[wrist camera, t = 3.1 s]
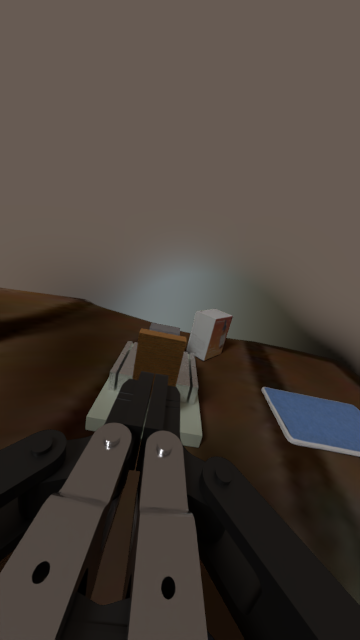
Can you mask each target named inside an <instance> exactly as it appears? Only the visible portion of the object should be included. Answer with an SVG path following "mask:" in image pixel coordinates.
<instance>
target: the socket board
mask: <svg viewBox="0 0 360 640" xmlns="http://www.w3.org/2000/svg"><path fill="white" fill-rule="evenodd" d="M150 330H152V331H157V332H163V333H168V334H173V335H178V336H179V335H180V328H177V327H172V326H167V325H161V324H157V323H152V324H151V326H150ZM133 345H134V344H133V343H132V347H133ZM188 358H189V354H188ZM108 385H109V378H108V380H107V382H106V383H105V385H104V387H103V389H102V390H101V392H100V394H99V396H98V397H97V399H96V401H95V403H94V404H93V406H92V408H91V409H90V411H89V413H88V415H87V416H86V429H85V430H91V431H96V430H97V429H98V428H100V427H101V426H103V425H104V424H105V422H106V419H107V417H108V415H109V413H110V411H111V408H112V406H113V404H114V402H115V400H116V398H117V395H118V393H119V392H117V385H116V387H115V389H114V391H111V390H108ZM149 402H150V400H149ZM148 406H149V405H148ZM147 411H148V410H147ZM146 415H147V414H146ZM145 420H146V419H145ZM144 425H145V423H144ZM143 429H144V428H143ZM142 435H143V432H142ZM141 439H142V437H141ZM180 439H181V442H182V444H183V445H185V446H191V447H198V448H199V445H200V442H201V439H202V427H201V419H200V410H199V401H198V392H197V395H196V398H195V402H194V405H192V404H188V396H187V400H186V403H181V402H180Z"/></svg>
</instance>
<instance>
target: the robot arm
mask: <svg viewBox="0 0 360 640" xmlns="http://www.w3.org/2000/svg"><path fill="white" fill-rule="evenodd" d="M168 378H169V376H168V375H162V374H157V373H156V374H155V379H154V373H151V372H145V371H141V373H140V376H139V379H138V380H135V379H128V380H127V381H126V382H125V383H123V384H122V387H121V389H120V391H119V393H118V395H117V398H116V400H115V402H114V404H113V406H112V408H111V411H110V413H109V415H108V417H107V419H106V422H105V424H104V425H103V426H101V427H100V428H98V429H97V430H96V431H95V433H94V434H93V435H91V436H89V437H86V438H81V439H74V440H66V437H65V435H64V434H63V433H61V432H60V431H57V430H43V431H40V432H37V433H35V434H33V435H30V436H28V437H26V438H24V439H22V440H20V441H18V442H16V443H14V444H12V445H10V446H8V447H6V448H4V449H2V450H0V561H1V560H2V559H3V558H5V557H6V556H7V555H8V554H9V553H11V552H12V551H13V550H14V549H15V550H14V552H13V554H12V555H11V557H10V558H9V560H8V562H7V563H6V565H5V566H4V568H3V570H2V571H1V573H0V640H214V638H213V637H212V636H211V635H210V633H209V632H208V631H207V627H206V618H205V609H204V599H203V590H202V581H201V571H200V562H199V557H200V559H201V561H202V562H203V564H204V566H205V568H206V570H207V572H208V573H209V575H210V577H211V579H212V581H213V582H214V584H215V586H216V588H217V590H218V591H219V593H220V595H221V597H222V599H223V601H224V602H225V604H226V606H227V608H228V610H229V611H230V613H231V615H232V617H233V619H234V621H235V622H236V624H237V626H238V628H239V630H240V631H241V633H242V635H243V637H244V639H245V640H360V605H359V604H358V603H357V602H356V601H355V600H354V599H353V598H352V596H351V595H350V594H349V593H348V592H347V591H346V590H345V589H344V587H343V586H342V585H341V584H340V583H339V582H338V581H337V580H336V579H335V577H334V576H333V575H332V574H331V573H330V572H329V571H328V570H327V568H326V567H325V566H324V565H323V564H322V563H321V562H320V561H319V560H318V558H317V557H316V556H315V555H314V554H313V553H312V552H311V551H310V549H309V548H308V547H307V546H306V545H305V544H304V543H303V542H302V541H301V539H300V538H299V537H298V536H297V535H296V534H295V533H294V532H293V530H292V529H291V528H290V527H289V526H288V525H287V524H286V523H285V522H284V520H283V519H282V518H281V517H280V516H279V515H278V514H277V513H276V511H275V510H274V509H273V508H272V507H271V506H270V505H269V504H268V503H267V501H266V500H265V499H264V498H263V497H262V496H261V495H260V494H259V492H258V491H257V490H256V489H255V488H254V487H253V486H252V485H251V484H250V482H249V481H248V480H247V479H246V478H245V477H244V476H243V475H242V473H241V472H240V471H239V470H238V469H237V468H236V467H235V466H234V465H233V464H232V463H231V462H230V461H228V460H227V459H225V458H222V457H211V458H209V459H208V460H207V461H206V462H205V461H203V460H201V459H199V458H197V457H195V456H193V455H192V454H190V453H189V452H188V451H187V450H186V449H185V448H184V446H183V444H182V442H181V439H180V392H179V390H178V388H177V387H175V386H169V385H168ZM153 379H154V383H153ZM152 384H153V388H152ZM151 390H152V392H151ZM150 395H151V397H150ZM149 400H150V402H149ZM148 405H149V406H148ZM147 410H148V411H147ZM146 414H147V415H146ZM145 419H146V420H145ZM144 423H145V425H144ZM143 428H144V429H143ZM142 432H143V435H142ZM141 437H142V440H141ZM140 442H141V445H140ZM139 446H140V451H139ZM138 451H139V456H138V461H137V467H136V471H140V476H139V482H138V487H137V492H136V498H135V506H134V515H133V523H132V531H131V539H130V547H129V555H128V563H127V570H126V576H125V582H124V589H123V596H122V600H121V601H117V602H114V603H111V604H108V605H99V604H97V603H95V602H93V601H92V600H90V599H91V595H92V592H93V589H94V585H95V581H96V578H97V574H98V569H99V566H100V562H101V558H102V555H103V552H104V549H105V546H106V542H107V539H108V536H109V533H110V530H111V527H112V524H113V520H114V517H115V514H116V511H117V508H118V505H119V502H120V498H121V495H122V492H123V488H124V486H125V484H126V480H127V476H128V472H129V470H134V469H135V464H136V460H137V455H138Z"/></svg>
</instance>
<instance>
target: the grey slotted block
mask: <svg viewBox="0 0 360 640" xmlns="http://www.w3.org/2000/svg"><path fill="white" fill-rule="evenodd" d="M132 343H133V342H132V341H128V342H127V344H126V346H125V347H124V349H123V351H122V352H121V354H120V356H119V357H118V359H117V361H116V363H115V364H114V366H113V368H112V369H111V371H110V376H109V385H108V390H111V391H114V389H115V387H116V385H117V392H119V391H120V389H121V387H122V384H123V383H125V382H126V381H127V380H128V379H132V377H133V371H134V364H135V358H136V351H137V345H138V343H137V342H135V343H134V345H133V347H132ZM176 387H177V388H178V390H179V392H180V402H181V403H186V400H187V396H188V404H192V405H194V402H195V398H196V395H197V391H198V380H197V372H196V364H195V356H194V353H190V354H189V358H188V352H185V351H184V354H183V358H182V362H181V366H180V370H179V374H178V379H177V383H176Z"/></svg>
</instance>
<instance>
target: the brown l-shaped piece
mask: <svg viewBox="0 0 360 640" xmlns="http://www.w3.org/2000/svg"><path fill="white" fill-rule="evenodd" d="M185 345H186V337H183V336H178V335H173V334H168V333H163V332H157V331H152V330H147V329H142V328H141V330H140V332H139V338H138V345H137V351H136V358H135V364H134V371H133V377H132V379H135V380H138V379H139V376H140V373H141V371H145V372H151V373H154V379H155V374H156V373H157V374H162V375H168V376H169V378H168V385H169V386H175V387H176V383H177V379H178V374H179V370H180V366H181V362H182V358H183V354H184V350H185ZM154 379H153V383H154ZM152 388H153V384H152ZM151 392H152V390H151ZM150 397H151V395H150Z"/></svg>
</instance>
